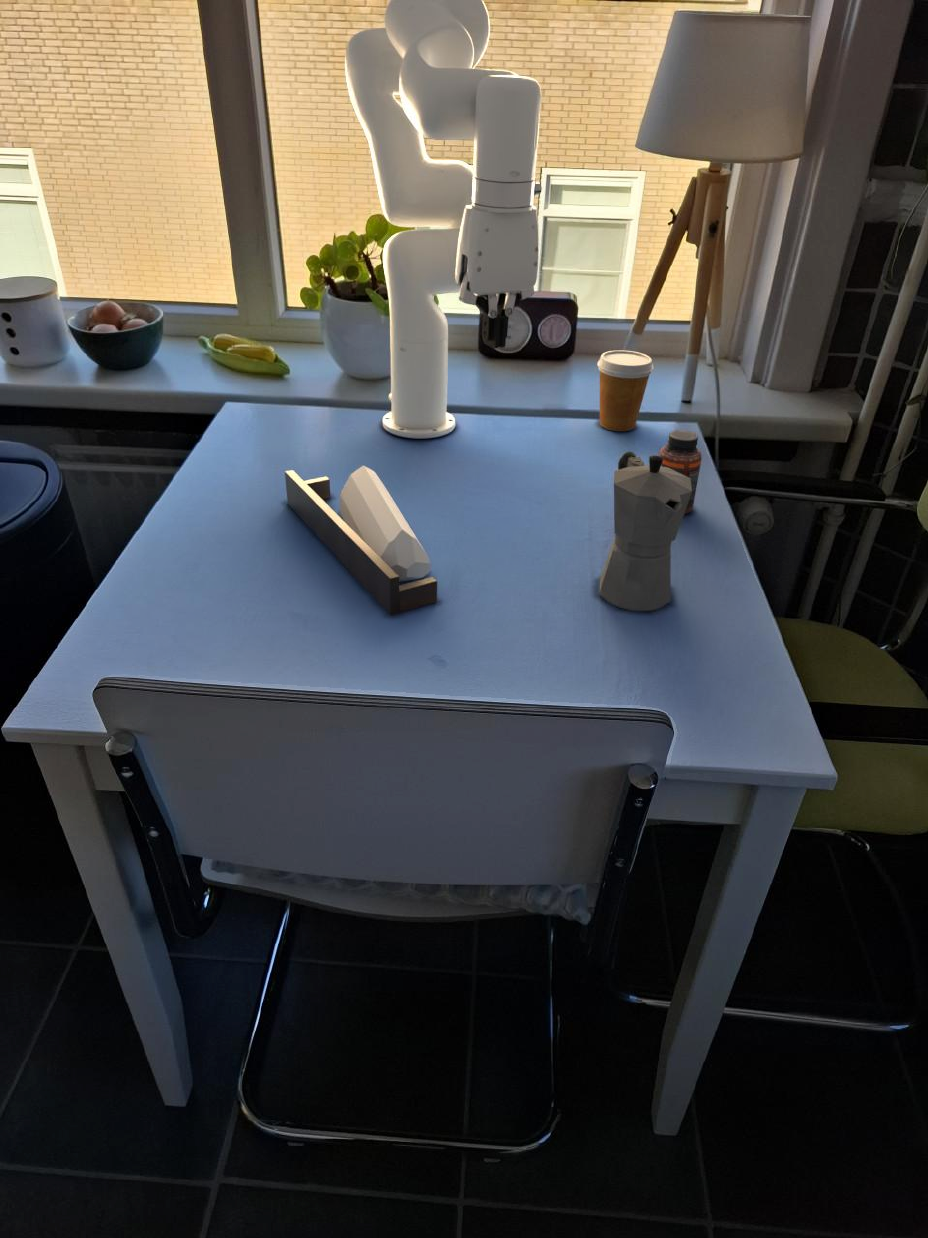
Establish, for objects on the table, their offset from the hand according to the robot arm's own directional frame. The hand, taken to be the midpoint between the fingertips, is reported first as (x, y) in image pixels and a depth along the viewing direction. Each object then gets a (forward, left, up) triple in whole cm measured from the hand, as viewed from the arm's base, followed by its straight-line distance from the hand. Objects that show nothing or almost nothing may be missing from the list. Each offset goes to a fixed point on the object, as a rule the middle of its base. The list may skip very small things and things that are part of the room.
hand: (494, 344), depth 117 cm
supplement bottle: (+15, +22, -23) cm, 35 cm away
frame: (+5, -24, -22) cm, 33 cm away
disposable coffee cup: (-15, +36, -23) cm, 45 cm away
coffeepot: (+30, +2, -23) cm, 38 cm away
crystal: (+6, -20, -23) cm, 31 cm away
